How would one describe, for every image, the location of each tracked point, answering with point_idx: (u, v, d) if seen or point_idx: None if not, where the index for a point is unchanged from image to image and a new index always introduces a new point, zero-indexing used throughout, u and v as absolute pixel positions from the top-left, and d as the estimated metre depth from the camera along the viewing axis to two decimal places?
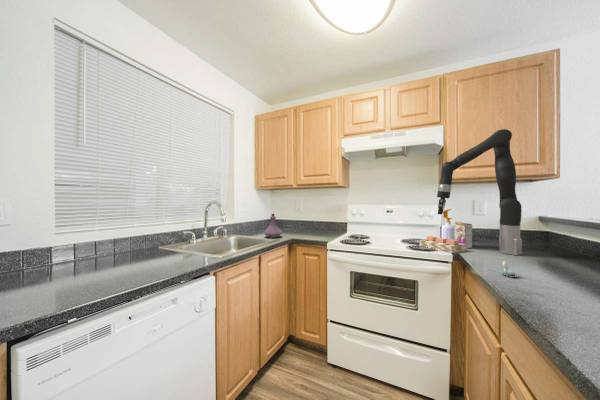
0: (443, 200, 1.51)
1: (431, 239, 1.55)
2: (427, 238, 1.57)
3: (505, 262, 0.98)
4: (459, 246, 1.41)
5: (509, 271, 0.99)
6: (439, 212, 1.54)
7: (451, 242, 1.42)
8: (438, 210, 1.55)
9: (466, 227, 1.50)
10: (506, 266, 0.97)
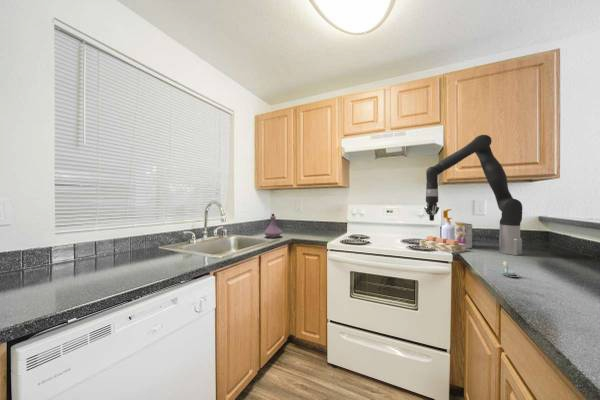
0: (427, 208, 1.53)
1: (431, 239, 1.55)
2: (427, 238, 1.57)
3: (506, 262, 0.98)
4: (459, 246, 1.41)
5: (510, 271, 0.99)
6: (430, 218, 1.56)
7: (451, 242, 1.42)
8: None
9: (466, 227, 1.50)
10: (507, 266, 0.97)
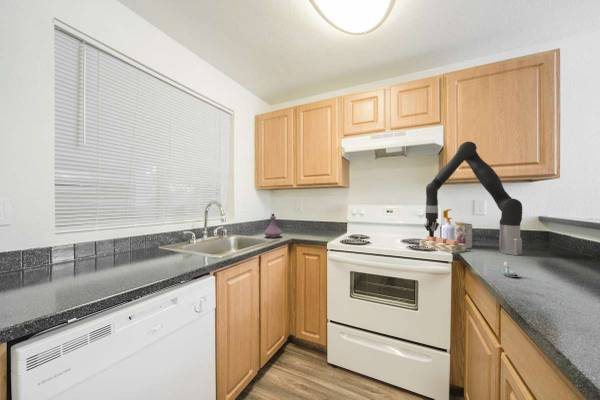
0: (427, 225, 1.53)
1: (431, 239, 1.55)
2: (427, 238, 1.57)
3: (506, 262, 0.98)
4: (459, 246, 1.41)
5: (511, 271, 0.99)
6: (430, 235, 1.57)
7: (451, 242, 1.42)
8: None
9: (466, 227, 1.50)
10: (508, 266, 0.97)
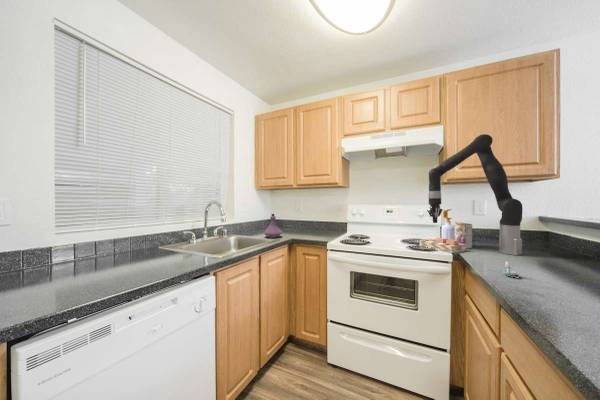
0: (430, 211, 1.51)
1: None
2: None
3: (508, 262, 0.97)
4: (459, 246, 1.41)
5: (512, 271, 0.99)
6: (433, 221, 1.55)
7: (451, 242, 1.42)
8: (433, 219, 1.56)
9: (466, 227, 1.50)
10: (509, 266, 0.97)
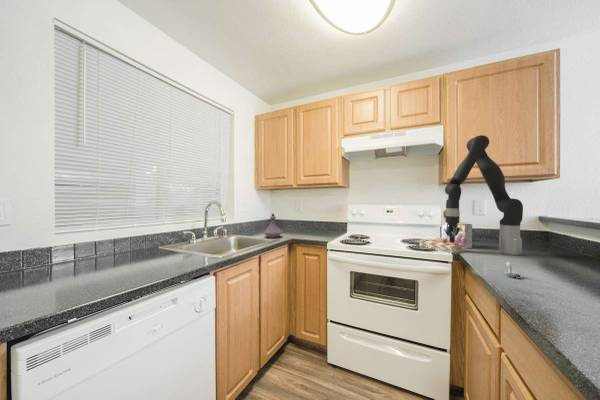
0: (447, 230, 1.41)
1: None
2: None
3: (509, 263, 0.97)
4: (459, 246, 1.41)
5: (513, 272, 0.99)
6: (450, 240, 1.44)
7: (451, 244, 1.42)
8: (449, 238, 1.45)
9: (466, 227, 1.50)
10: (510, 267, 0.96)
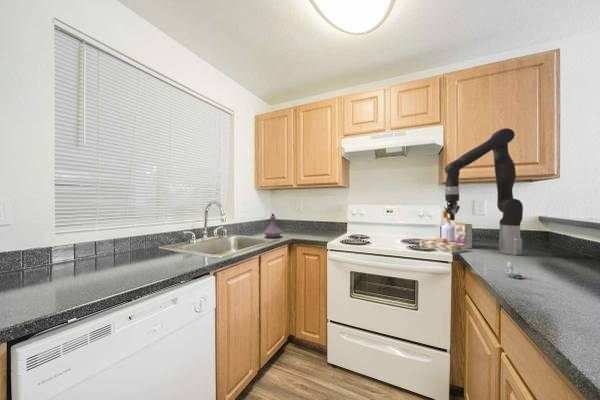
0: (448, 207, 1.43)
1: None
2: None
3: (510, 263, 0.97)
4: (459, 246, 1.41)
5: (514, 272, 0.98)
6: (450, 218, 1.46)
7: None
8: (450, 216, 1.47)
9: (466, 227, 1.50)
10: (511, 267, 0.96)
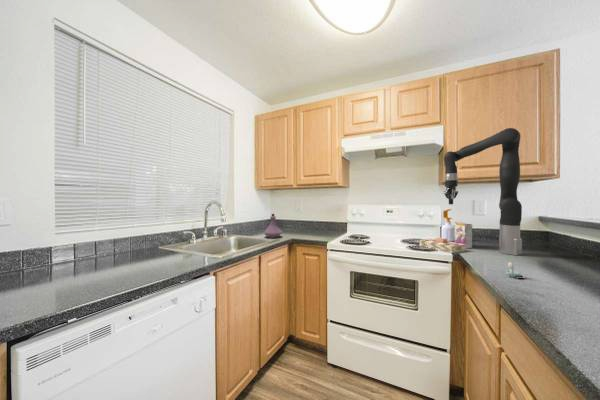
0: (447, 192, 1.57)
1: None
2: None
3: (511, 263, 0.97)
4: (459, 246, 1.41)
5: (515, 272, 0.98)
6: (449, 202, 1.60)
7: None
8: None
9: (466, 227, 1.50)
10: (512, 267, 0.96)
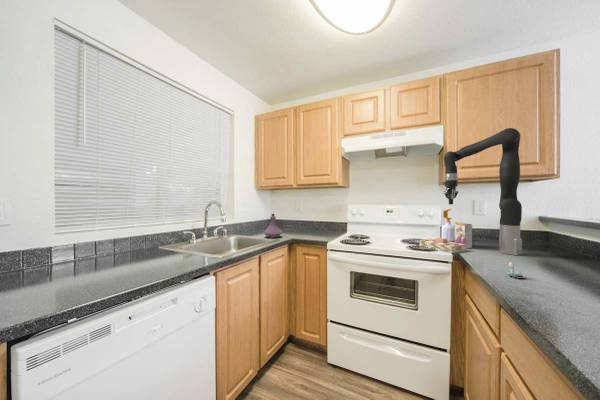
0: (447, 192, 1.57)
1: None
2: None
3: (512, 263, 0.97)
4: (459, 246, 1.41)
5: (516, 272, 0.98)
6: (449, 202, 1.60)
7: None
8: None
9: (466, 227, 1.50)
10: (513, 267, 0.96)
